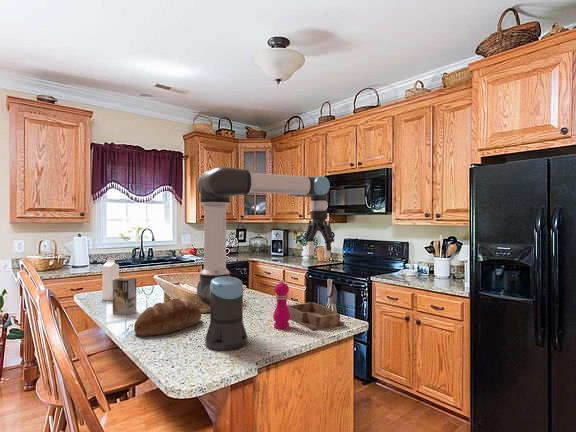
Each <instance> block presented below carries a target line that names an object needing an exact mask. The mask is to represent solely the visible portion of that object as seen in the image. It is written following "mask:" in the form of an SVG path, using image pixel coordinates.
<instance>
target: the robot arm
mask: <svg viewBox="0 0 576 432" xmlns="http://www.w3.org/2000/svg"><path fill="white" fill-rule="evenodd" d="M196 187H197V191H198V194H199V195H200V196H199V199H200V201H199V202H200V205H201V206H202V207H203V211H204V214H203V216H204V217H203V220H204V221H203V269H202V270H200V272H199V280H198V283H197V285H196V294H197V297H198V299H199V300H200V302H202V303H203V304H204V305H205V306H207V307H209V308H210V314H209V315H210V317H209V318H210V319H209V322H210V323H209V326H208V329H207V332H206V334H205V339H204V341H205V342H204V344H205V347H206V348H207V349H210V350H214V351H232V350H238V349H241V348H244V347H245V346H247V344H248V334H247V330H246V327H245V324H244V321H243V320H244V319H243V318H244V317H243V316H244V311H243V310H244V307H243V306H244V284H243V281H242V280H241V279H240V278H238V277H234V276H231V275H230V274H231V272H230V271H229V269H228V268H227V207H228V206H230V205H231V197H235V196H236V197H237V196H249V195H250V193H252V194H277V195H278V194H279V195H288V196H290V197H295V198H296V197H297V198H299V197H300V198H302V197H303V198H310V210H311V211H310V219H311V220H309V221H308V226H307V230H306V233H305V237H304V240H306V241H307V256H314V255H315V253H314V251H315V248H314V247H315V246H314V245H315V242H314V241H315V240H314V238H315V236H316V235H317V232H318V231H319V232H320V233H321V236H322V237H323V239H324V251H323V254H324V256H323V257H324V259H331V250H332V243H334V242H335V238H334V234H333V231H332V227H331V222H330V220H327V219H328V211H327V210H328V192H329V191H330V187H331V185H330V181H329V179H328V178H327V177H326V176H323V175H322V176H320V175H319V176H306V175H305V176H303V175H302V176H301V175H290V174H289V175H288V174H274V173H262V172H251V171H250V170H249V169H243V168H236V167H230V166H218V167H215V168H213V169H208V170H207V171H205V172H203V174H201V175H200V177H199V178H198V180H197V185H196Z"/></svg>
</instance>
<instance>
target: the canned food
mask: <svg viewBox="0 0 576 432" xmlns="http://www.w3.org/2000/svg"><path fill="white" fill-rule="evenodd" d="M168 281H169V282H171V283H172V284H175V285H179V286H181V285H180V283H181V282H180V280H168ZM168 301H171V299H170V297H169V296H168V295H167V294H166V293H165V292H164V291H163V303H165V302H168Z"/></svg>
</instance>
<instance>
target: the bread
mask: <svg viewBox="0 0 576 432" xmlns="http://www.w3.org/2000/svg"><path fill="white" fill-rule="evenodd" d="M201 319H202V312H201V310H200V308H199V307H198V305H197V304H195V303H194V302H192V301H190V300H187V299H186V300H181V299H180V298H179V299H173V300H171V301H168V302H165V303H164V302H157V303H155V304H154V305H153V306H150V307H148V308H146V309H144V310H143V312H142V313H140V314H139V316H138V317H137V319H136V320H135V323H134V326H133V329H134V330H133V331H134V333H135V334H136V335H138V336H140V337H149V336H155V335H156V336H157V335H165V334H170V333H172V332H173V333H174V332H176V331H179V330H184V329H186V328H190V327H192V326H195V325H196V324H198V323H200V320H201Z"/></svg>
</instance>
